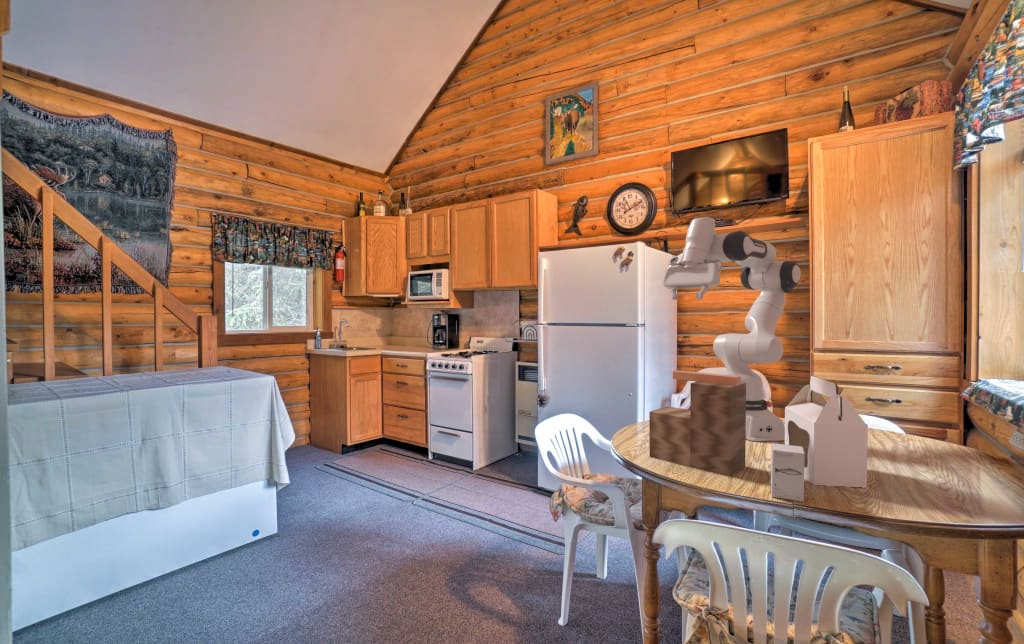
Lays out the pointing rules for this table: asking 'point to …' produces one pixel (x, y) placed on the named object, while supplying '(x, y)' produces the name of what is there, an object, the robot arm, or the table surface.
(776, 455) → the supplement box
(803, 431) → the gable box
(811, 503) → the table surface
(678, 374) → the bar
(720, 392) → the stepped stand
